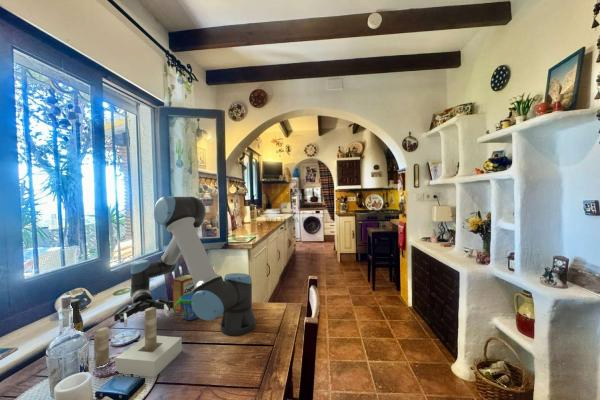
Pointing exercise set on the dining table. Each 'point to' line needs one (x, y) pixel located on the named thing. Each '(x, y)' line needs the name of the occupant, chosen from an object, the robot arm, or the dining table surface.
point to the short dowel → (94, 346)
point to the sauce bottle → (77, 315)
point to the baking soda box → (181, 289)
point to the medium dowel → (102, 346)
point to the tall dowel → (150, 330)
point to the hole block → (148, 357)
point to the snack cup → (186, 306)
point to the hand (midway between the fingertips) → (147, 318)
